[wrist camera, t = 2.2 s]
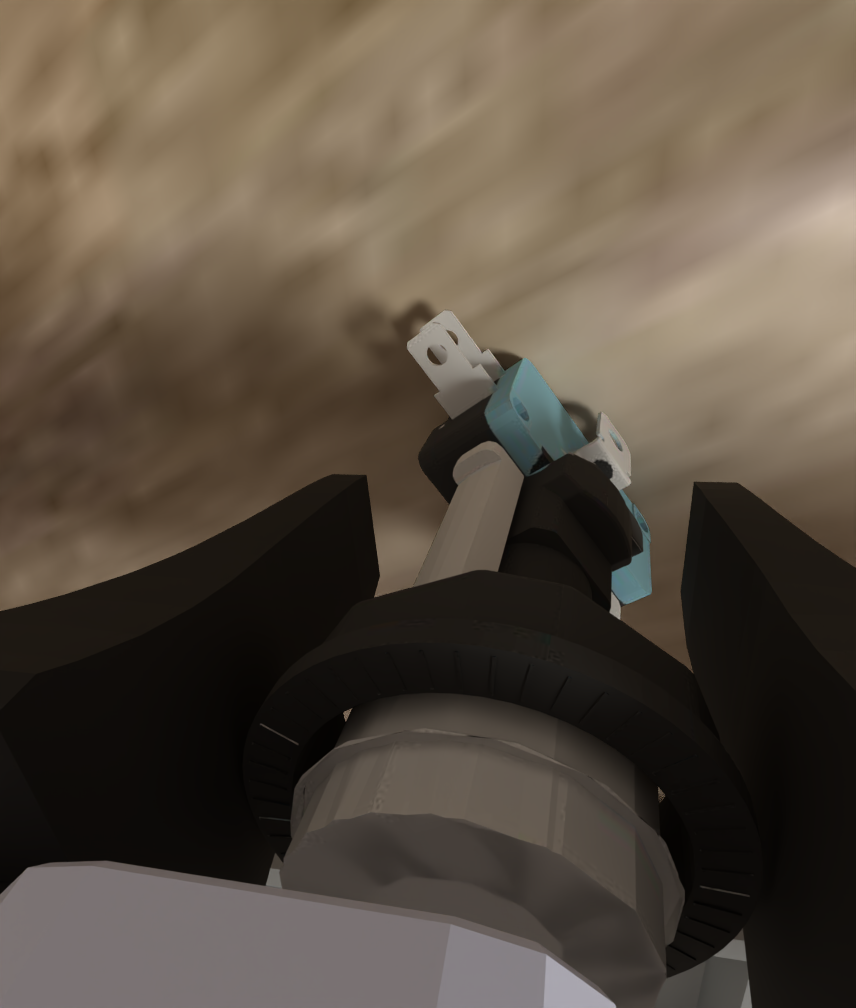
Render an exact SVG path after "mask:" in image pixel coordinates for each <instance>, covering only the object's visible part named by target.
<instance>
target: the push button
mask: <svg viewBox="0 0 856 1008" xmlns="http://www.w3.org/2000/svg"><path fill="white" fill-rule="evenodd" d="M446 330H449V331H453V332H454V333H455V334H456V336H457V338H458V345H456V343H455V342H454V341H453V339H452V338H451V337H450V335H449V334H448V333H447V331H446ZM440 345H442V346H443V347H444V348H445V349H444V348H443V347H441V346H440ZM428 348H430V349H431V351H432V352H433V353H434V355H435V356H436V357H437V359H438V360H439V361H440V363H441V364H440V365H437V364H434V363H432V362H431V361H430V360H429V358H428V356H427V350H428ZM407 349H408V351H409V352H410V353H411V355H412V356H413V357H414V358H415V360H416V361H417V362H418V364H419V365H420V366H421V368H422V369H423V370H424V372H425V373H426V374H427V375H428V377H429V378H430V379H431V381H432V382H433V383H434V385H435V386H436V387H437V388H438V390H439V392H438V393H436V394H435V395H434V397H435V398H436V399H437V401H438V402H439V403H440V404H441V406H442V407H443V408H444V410H445V411H446V412H447V414H448V415H449V418H448V420H447V421H446V422H445V423H443V424H442V425H440V426H439V427H437V428H436V429H434V430H433V431H432V432H431V434H430V436H429V437H428V439H427V441H426V442H425V444H424V446H423V447H422V449H421V451H420V452H419V456H418V459H419V464H420V466H421V468H422V470H423V472H424V473H425V474H426V476H427V477H428V478H429V479H430V481H431V482H432V483H433V484H434V486H435V487H436V488H437V489H438V491H439V492H440V493H441V494H442V496H443V497H444V498H445V499H446V501H447V502H448V503H449V504H450V505H449V507H448V509H447V512H446V514H445V516H444V518H443V521H442V523H441V525H440V527H439V530H438V532H437V534H436V536H435V539H434V541H433V543H432V545H431V548H430V550H429V552H428V554H427V557H426V559H425V561H424V563H423V566H422V568H421V570H420V572H419V575H418V577H417V579H416V581H415V584H414V586H413V587H412V588H408V589H404V590H401V591H397V592H393V593H390V594H386V595H382V596H379V597H375V598H371V599H367V600H364V601H361V602H359V603H357V604H355V605H354V606H352V608H351V609H350V610H349V611H348V612H347V614H346V615H345V616H344V617H343V619H342V620H341V621H340V622H339V624H338V625H337V626H336V627H335V629H334V630H333V631H332V632H331V633H330V635H329V636H328V637H327V638H326V640H325V641H324V642H323V643H322V645H320V646H318V647H317V648H315V649H313V650H312V651H310V652H308V653H307V654H305V655H304V656H303V657H302V658H300V659H299V660H298V661H297V662H295V663H294V664H293V665H292V666H291V667H290V668H289V669H288V670H287V671H286V672H285V673H284V674H283V675H282V676H281V677H280V678H279V680H278V681H277V683H276V684H275V686H274V687H273V689H272V690H271V692H270V693H269V695H268V696H267V698H266V700H265V701H264V703H263V705H262V706H261V708H260V710H259V711H258V713H257V714H256V716H255V718H254V720H253V722H252V725H251V727H250V729H249V731H248V734H247V738H246V742H245V746H244V752H243V764H242V767H243V781H244V786H245V791H246V795H247V799H248V802H249V805H250V808H251V811H252V813H253V816H254V818H255V820H256V822H257V824H258V826H259V828H260V830H261V832H262V834H263V835H264V837H265V838H266V840H267V842H268V843H269V845H270V846H271V848H272V849H273V850H274V852H275V853H276V854H277V856H278V857H279V858H280V860H281V861H282V862H283V865H282V867H281V870H280V872H279V875H280V880H281V885H282V889H286V890H293V891H299V892H305V893H311V894H318V895H324V896H330V897H336V898H343V899H349V900H355V901H361V902H368V903H374V904H380V905H386V906H393V907H399V908H405V909H411V910H418V911H424V912H430V913H437V914H443V915H449V916H455V917H458V918H462V919H465V920H468V921H471V922H474V923H477V924H481V925H484V926H487V927H490V928H493V929H496V930H500V931H503V932H506V933H509V934H512V935H516V936H519V937H522V938H525V939H528V940H531V941H535V942H538V943H539V944H541V945H542V946H543V947H545V948H546V949H547V950H549V951H550V952H552V953H553V954H554V955H556V956H557V957H558V958H560V959H561V960H563V961H564V962H565V963H567V964H568V965H569V966H571V967H572V968H574V969H575V970H576V971H578V972H579V973H580V974H582V975H583V976H585V977H586V978H587V979H589V980H590V981H591V982H593V983H594V984H596V985H597V986H598V987H599V988H600V989H601V990H602V991H603V992H604V993H605V994H606V995H607V996H608V997H609V998H610V999H611V1000H612V1002H613V1003H614V1004H615V1005H616V1008H654V1007H655V1004H656V1001H657V998H658V995H659V992H660V990H661V988H662V987H663V985H664V983H665V981H666V980H667V978H669V977H672V976H675V975H677V974H680V973H682V972H685V971H687V970H690V969H691V968H693V967H695V966H697V965H699V964H701V963H703V962H705V961H706V960H708V959H710V958H711V957H712V956H714V955H715V954H717V953H718V952H719V951H721V950H722V949H724V948H725V947H726V946H727V945H728V944H729V943H730V942H731V941H732V940H733V939H734V938H735V937H736V936H737V935H738V934H739V932H740V931H741V930H742V928H743V927H744V926H745V925H746V923H747V922H748V920H749V918H750V916H751V914H752V913H753V911H754V909H755V907H756V905H757V901H758V898H759V894H760V891H761V888H762V878H763V857H762V847H761V841H760V836H759V830H758V825H757V819H756V814H755V810H754V807H753V803H752V799H751V795H750V793H749V790H748V788H747V786H746V784H745V781H744V779H743V777H742V774H741V773H740V771H739V769H738V768H737V766H736V764H735V763H734V761H733V759H732V758H731V756H730V755H729V753H728V752H727V750H726V749H725V748H724V747H723V745H722V744H721V742H720V737H719V733H718V731H717V728H716V726H715V724H714V721H713V719H712V716H711V714H710V711H709V709H708V707H707V704H706V702H705V699H704V697H703V694H702V692H701V690H700V687H699V685H698V682H697V680H696V678H695V676H694V674H693V673H692V672H691V671H690V670H689V669H688V668H687V667H686V666H684V665H683V664H682V663H680V662H679V661H677V660H676V659H675V658H673V657H672V656H670V655H669V654H667V653H666V652H665V651H663V650H662V649H660V648H659V647H658V646H656V645H655V644H653V643H652V642H651V641H649V640H648V639H646V638H645V637H643V636H642V635H641V634H639V633H638V632H636V631H635V630H634V629H632V628H631V627H629V626H628V625H627V624H625V623H624V622H622V621H621V620H620V608H621V607H622V606H624V605H626V604H629V603H631V602H634V601H636V600H638V599H641V598H643V597H645V596H648V595H650V594H651V592H652V584H651V565H650V545H649V543H651V536H650V530H649V527H648V525H647V523H646V521H645V519H644V517H643V516H642V514H641V513H640V511H639V510H638V509H637V507H636V506H635V504H634V503H633V504H632V503H631V501H630V500H629V499H628V497H627V496H626V494H625V493H624V492H623V490H622V489H623V488H625V487H627V486H629V485H630V484H631V480H630V478H629V476H631V453H630V451H629V449H628V447H627V444H626V443H625V441H624V440H623V438H622V437H621V436H620V434H619V433H618V431H617V430H616V428H615V427H614V426H613V424H612V423H611V421H610V420H609V418H608V417H607V415H606V414H604V413H603V412H600V413H598V420H597V430H596V434H597V436H598V437H597V438H596V439H595V440H594V441H592V442H590V443H589V442H588V441H587V440H586V438H585V437H584V435H583V434H582V433H581V431H580V430H579V428H578V427H577V426H576V424H575V423H574V421H573V420H572V419H571V417H570V416H569V414H568V413H567V412H566V410H565V409H564V407H563V406H562V405H561V403H560V402H559V400H558V399H557V397H556V396H555V395H554V393H553V392H552V390H551V389H550V388H549V386H548V385H547V383H546V382H545V381H544V379H543V378H542V376H541V375H540V374H539V372H538V371H537V369H536V368H535V367H534V365H533V364H532V363H531V362H530V361H529V360H528V359H526V358H524V359H522V360H520V361H519V362H517V363H516V364H514V365H513V366H511V367H510V368H508V369H507V370H504V369H503V368H502V366H501V365H500V364H499V362H498V361H497V360H496V358H495V357H494V355H493V354H492V353H491V351H490V350H489V349H487V350H485V351H484V352H481V350H480V349H479V348H478V346H477V345H476V343H475V342H474V341H473V339H472V338H471V337H470V335H469V334H468V333H467V331H466V330H465V328H464V327H463V326H462V324H461V323H460V322H459V320H458V319H457V317H456V316H455V315H454V313H453V312H452V311H451V310H446V309H445V310H444V311H442V312H441V313H440V314H439V315H437V316H436V317H435V318H433V319H432V320H431V321H429V322H428V323H427V324H425V325H424V326H423V327H422V328H420V333H419V334H418V335H416V336H415V337H414V338H412V339H411V340H410V341H408V343H407ZM610 434H611V436H612V437H613V438H614V440H615V442H616V444H617V446H618V448H619V449H618V448H617V447H616V445H615V444H614V442H613V440H612V438H611V436H610ZM351 708H352V710H351V713H350V715H349V717H348V719H347V721H346V722H345V719H344V714H343V712H344V711H347V710H349V709H351ZM658 787H659V788H660V789H661V790H662V791H663V793H664V794H665V795H666V796H665V798H664V799H663V800H662V801H661V803H660V804H659V800H658Z"/></svg>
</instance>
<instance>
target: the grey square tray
mask: <svg viewBox="0 0 856 1008" xmlns="http://www.w3.org/2000/svg"><path fill="white" fill-rule="evenodd" d="M659 804H660V803H659ZM282 865H283V862H282V861H281V860H280V858H279V857H278V856H277V854H276V853H275V855H274V859H273V862H272V865H271V868H270V872H269V875H268V879H267V883H266V886H267V887H274V888H280V889H282V885H281V880H280V875H279V872H280V870H281V867H282ZM654 1008H752V1003H751V995H750V986H749V977H748V969H747V960H746V951H745V943H744V935H743V928H742V930H741V931H740V932H739V934H738V935H737V936H736V937H735V938H734V939H733V940H732V941H731V942H730V943H729V944H728V945H727V946H726V947H725V948H724V949H722V950H721V951H719V952H718V953H717V954H715V955H714V956H712V957H711V958H710V959H708V960H706V961H705V962H703V963H701V964H699V965H697V966H695V967H693V968H691V969H690V970H687V971H685V972H682V973H680V974H677V975H675V976H672V977H669V978H667V980H666V981H665V983H664V985H663V987H662V988H661V990H660V992H659V995H658V998H657V1001H656V1004H655V1007H654Z"/></svg>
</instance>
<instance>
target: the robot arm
mask: <svg viewBox="0 0 856 1008" xmlns="http://www.w3.org/2000/svg"><path fill="white" fill-rule="evenodd" d="M379 577H380V572H379V565H378V558H377V550H376V543H375V535H374V528H373V520H372V513H371V506H370V498H369V491H368V483H367V476H366V475H339V474H332V475H330V476H327V477H324V478H322V479H320V480H318V481H316V482H314V483H312V484H310V485H308V486H306V487H304V488H302V489H301V490H299V491H297V492H295V493H293V494H292V495H290V496H288V497H286V498H284V499H283V500H281V501H279V502H277V503H276V504H274V505H272V506H270V507H268V508H267V509H265V510H263V511H261V512H259V513H258V514H256V515H254V516H252V517H251V518H249V519H247V520H245V521H243V522H241V523H239V524H237V525H235V526H233V527H231V528H229V529H227V530H225V531H223V532H222V533H220V534H218V535H216V536H214V537H212V538H210V539H208V540H206V541H204V542H202V543H200V544H198V545H196V546H194V547H192V548H189V549H187V550H185V551H183V552H181V553H178V554H176V555H174V556H171V557H169V558H167V559H164V560H162V561H159V562H157V563H154V564H152V565H149V566H147V567H144V568H142V569H139V570H137V571H134V572H131V573H129V574H126V575H123V576H120V577H117V578H114V579H111V580H108V581H105V582H102V583H99V584H96V585H93V586H90V587H86V588H83V589H80V590H77V591H74V592H71V593H68V594H65V595H61V596H58V597H54V598H51V599H47V600H43V601H40V602H36V603H32V604H28V605H25V606H21V607H16V608H12V609H8V610H4V611H0V1008H616V1005H615V1004H614V1003H613V1002H612V1000H611V999H610V998H609V997H608V996H607V995H606V994H605V993H604V992H603V991H602V990H601V989H600V988H599V987H598V986H597V985H596V984H594V983H593V982H591V981H590V980H589V979H587V978H586V977H585V976H583V975H582V974H580V973H579V972H578V971H576V970H575V969H574V968H572V967H571V966H569V965H568V964H567V963H565V962H564V961H563V960H561V959H560V958H558V957H557V956H556V955H554V954H553V953H552V952H550V951H549V950H547V949H546V948H545V947H543V946H542V945H541V944H539V943H538V942H535V941H531V940H528V939H525V938H522V937H519V936H516V935H512V934H509V933H506V932H503V931H500V930H496V929H493V928H490V927H487V926H484V925H481V924H477V923H474V922H471V921H468V920H465V919H462V918H458V917H455V916H449V915H443V914H437V913H430V912H424V911H418V910H411V909H405V908H399V907H393V906H386V905H380V904H374V903H368V902H361V901H355V900H349V899H343V898H336V897H330V896H324V895H318V894H311V893H305V892H299V891H293V890H286V889H280V888H274V887H267V886H266V883H267V879H268V875H269V872H270V868H271V865H272V862H273V859H274V855H275V852H274V850H273V849H272V848H271V846H270V845H269V843H268V842H267V840H266V838H265V837H264V835H263V834H262V832H261V830H260V828H259V826H258V824H257V822H256V820H255V818H254V816H253V813H252V811H251V808H250V805H249V802H248V799H247V795H246V791H245V786H244V781H243V767H242V764H243V752H244V746H245V742H246V738H247V734H248V731H249V729H250V727H251V725H252V722H253V720H254V718H255V716H256V714H257V713H258V711H259V710H260V708H261V706H262V705H263V703H264V701H265V700H266V698H267V696H268V695H269V693H270V692H271V690H272V689H273V687H274V686H275V684H276V683H277V681H278V680H279V678H280V677H281V676H282V675H283V674H284V673H285V672H286V671H287V670H288V669H289V668H290V667H291V666H292V665H293V664H294V663H295V662H297V661H298V660H299V659H300V658H302V657H303V656H304V655H305V654H307V653H308V652H310V651H312V650H313V649H315V648H317V647H318V646H320V645H322V643H323V642H324V641H325V640H326V638H327V637H328V636H329V635H330V633H331V632H332V631H333V630H334V629H335V627H336V626H337V625H338V624H339V622H340V621H341V620H342V619H343V617H344V616H345V615H346V614H347V612H348V611H349V610H350V609H351V608H352V606H354V605H355V604H357V603H359V602H361V601H364V600H367V599H371V598H374V595H375V592H376V588H377V584H378V581H379ZM681 599H682V609H683V619H684V628H685V636H686V644H687V649H688V653H689V657H690V661H691V665H692V669H693V673H694V676H695V678H696V680H697V682H698V685H699V687H700V690H701V692H702V694H703V697H704V699H705V702H706V704H707V707H708V709H709V711H710V714H711V716H712V719H713V721H714V724H715V726H716V728H717V731H718V733H719V737H720V742H721V744H722V745H723V747H724V748H725V749H726V750H727V752H728V753H729V755H730V756H731V758H732V759H733V761H734V763H735V764H736V766H737V768H738V769H739V771H740V773H741V774H742V777H743V779H744V781H745V784H746V786H747V788H748V790H749V793H750V795H751V799H752V803H753V807H754V810H755V814H756V819H757V825H758V830H759V836H760V841H761V847H762V857H763V878H762V888H761V891H760V894H759V898H758V901H757V905H756V907H755V909H754V911H753V913H752V914H751V916H750V918H749V920H748V922H747V923H746V925H745V926H744V927H743V935H744V943H745V951H746V960H747V969H748V977H749V986H750V995H751V1003H752V1008H856V568H855V567H853V566H852V565H850V564H849V563H847V562H846V561H844V560H842V559H841V558H839V557H838V556H836V555H835V554H834V553H832V552H831V551H829V550H828V549H826V548H825V547H823V546H822V545H821V544H819V543H818V542H816V541H815V540H814V539H812V538H811V537H809V536H808V535H807V534H805V533H804V532H803V531H801V530H800V529H798V528H797V527H796V526H794V525H793V524H792V523H791V522H789V521H788V520H787V519H785V518H784V517H783V516H781V515H780V514H779V513H777V512H776V511H775V510H774V509H772V508H771V507H770V506H768V505H767V504H766V503H764V502H763V501H762V500H761V499H759V498H758V497H757V496H755V495H754V494H753V493H751V492H750V491H749V490H747V489H746V488H744V487H743V486H741V485H740V484H738V483H724V482H694V486H693V494H692V503H691V511H690V519H689V527H688V536H687V544H686V552H685V560H684V569H683V577H682V585H681Z"/></svg>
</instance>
